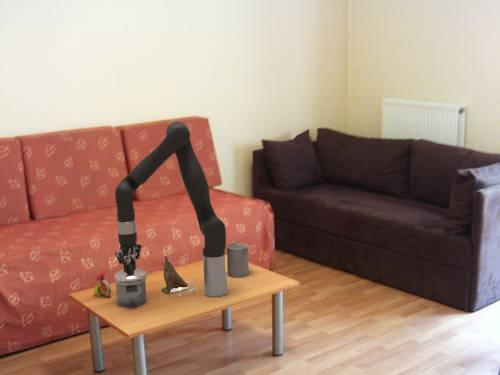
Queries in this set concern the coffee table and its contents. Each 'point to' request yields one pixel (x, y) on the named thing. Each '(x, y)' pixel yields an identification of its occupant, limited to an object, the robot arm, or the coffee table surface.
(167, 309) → the coffee table surface
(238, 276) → the pillar candle
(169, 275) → the worn brown figurine
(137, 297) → the cooker pot
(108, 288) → the bird rattle
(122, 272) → the cooker lid
